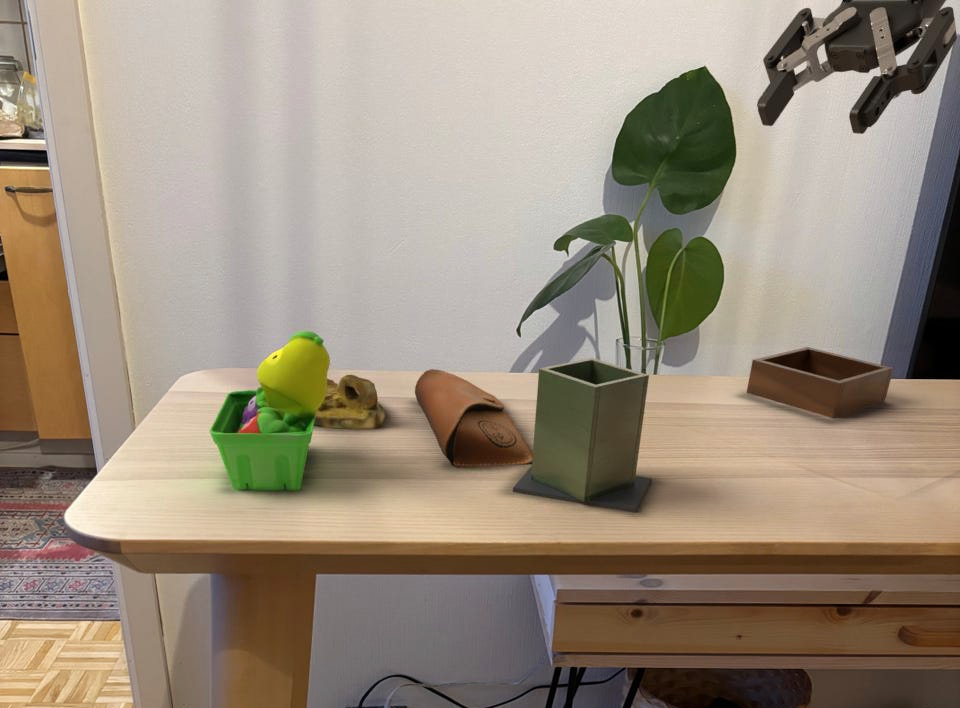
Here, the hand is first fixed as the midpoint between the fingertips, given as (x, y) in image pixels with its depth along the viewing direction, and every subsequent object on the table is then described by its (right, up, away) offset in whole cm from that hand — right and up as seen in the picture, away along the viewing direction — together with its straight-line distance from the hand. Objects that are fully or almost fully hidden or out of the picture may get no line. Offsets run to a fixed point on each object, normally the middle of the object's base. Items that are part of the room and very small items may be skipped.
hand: (807, 121), depth 78 cm
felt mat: (-18, -30, 0) cm, 35 cm away
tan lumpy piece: (-42, -20, +15) cm, 49 cm away
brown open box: (+9, -17, +25) cm, 31 cm away
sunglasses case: (-28, -23, +11) cm, 38 cm away
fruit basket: (-43, -29, +1) cm, 52 cm away
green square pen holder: (-18, -29, 0) cm, 35 cm away
